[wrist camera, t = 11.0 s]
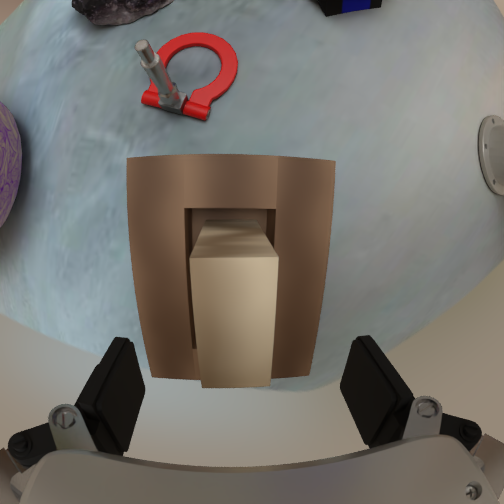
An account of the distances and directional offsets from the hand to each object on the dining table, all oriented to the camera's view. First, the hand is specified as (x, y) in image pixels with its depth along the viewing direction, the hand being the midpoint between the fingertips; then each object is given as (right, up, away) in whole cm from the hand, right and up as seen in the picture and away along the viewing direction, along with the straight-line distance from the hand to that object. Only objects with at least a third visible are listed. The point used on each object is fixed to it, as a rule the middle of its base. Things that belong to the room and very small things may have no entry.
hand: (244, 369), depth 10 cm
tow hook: (-5, +22, +11) cm, 25 cm away
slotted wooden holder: (-2, +5, +16) cm, 17 cm away
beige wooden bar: (-1, +4, +12) cm, 13 cm away
